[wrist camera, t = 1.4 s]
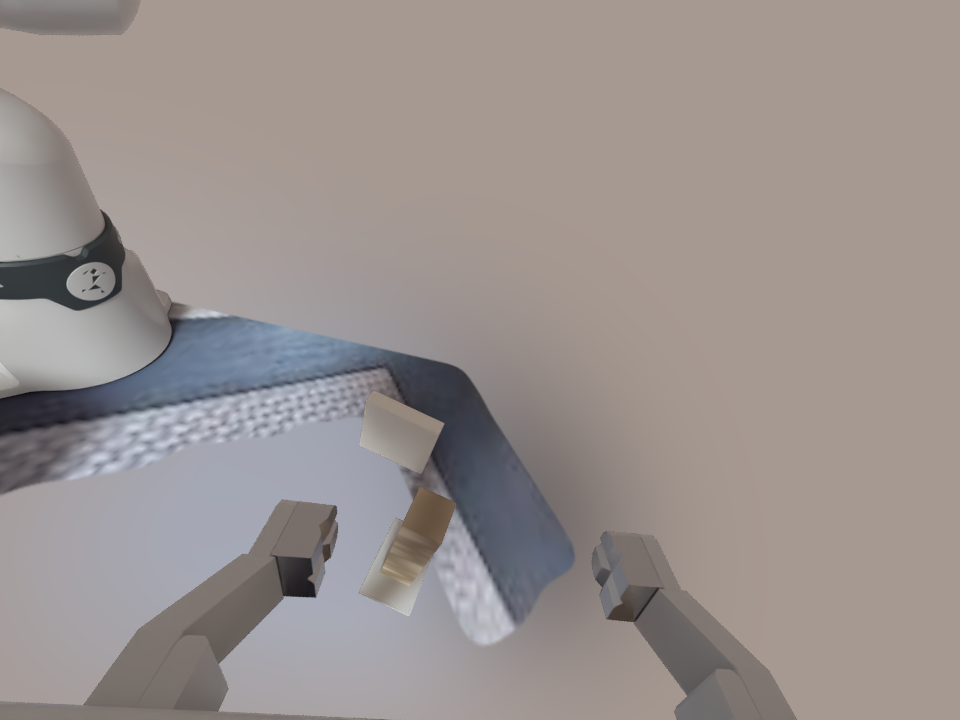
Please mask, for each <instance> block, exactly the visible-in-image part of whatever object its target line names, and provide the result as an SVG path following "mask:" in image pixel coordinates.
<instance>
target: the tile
mask: <svg viewBox="0 0 960 720" xmlns="http://www.w3.org/2000/svg"><path fill="white" fill-rule="evenodd" d="M444 424H445V423H443V422H440V421H438V420H436V419H434V418H432V417H430V416H428V415H425V414H423V413H421V412H419V411H417V410H415V409H413V408H411V407H408V406H406V405H404V404H402V403H400V402H398V401H396V400H393V399H391V398H389V397H387V396H385V395H383V394H381V393H378V392H376V391H374V390H373V392H372V393H371V395H370V396H369V397H368V399H367V400H366V404H365V410H364V417H363V424H362V430H361V437H360V444H359V446H361V447H364V448H366V449H368V450H370V451H372V452H374V453H376V454H378V455H380V456H383V457H385V458H387V459H389V460H391V461H393V462H395V463H398V464H400V465H402V466H404V467H406V468H408V469H411V470H413V471H415V472H417V473H419V474H421V475H422V473H423V470H424V468H425V466H426V464H427V462H428V460H429V457H430V455H431V453H432V451H433V448H434V446H435V444H436V442H437V439H438V437H439V435H440V433H441V430H442V428H443V426H444Z"/></svg>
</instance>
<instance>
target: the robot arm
mask: <svg viewBox="0 0 960 720" xmlns="http://www.w3.org/2000/svg"><path fill="white" fill-rule="evenodd" d="M139 4H140V0H0V28H5V29H11V30H16V31H22V32H28V33H33V34H39V35H121V34H123V33H124V32H125V31H126V30H127V29H128V28H129V26H130V25H131V23H132V22H133V20H134V18H135V16H136V14H137V11H138V7H139ZM170 306H171V299H170V297H169V296H168V294H167V293H165V292H163V291H159V290H156V289H155V287H154V285H153V283H152V282H151V280H150V278H149V276H148V274H147V272H146V270H145V269H144V267H143V265H142V263H141V261H140V259H139V258H138V256H137V255H136V254H135V253H134V252H133V251H131V250H127V249H126V248H124V247H123V245H122V242H121V237H120V235H119V233H118V231H117V229H116V228H115V227H114V226H113V224H112V222H111V220H110V218H109V217H108V216H107V214H106V213H104V212H103V211H102V210H101V209H99V206H98V204H97V202H96V199H95V197H94V195H93V193H92V191H91V188H90V186H89V184H88V182H87V179H86V178H85V175H84V173H83V171H82V168H81V166H80V164H79V162H78V159H77V157H76V155H75V153H74V151H73V148H72V146H71V144H70V142H69V140H68V139H67V138H66V136H65V135H64V133H63V132H62V131H61V130H60V129H59V128H58V127H57V126H56V125H55V124H54V123H53V122H52V121H51V120H50V119H49V118H47V117H46V116H45V115H44V114H43V113H41V112H40V111H38V110H37V109H36V108H34V107H33V106H31V105H30V104H28V103H26V102H25V101H23V100H21V99H20V98H18V97H16V96H15V95H13V94H11V93H9V92H7V91H5V90H3V89H1V88H0V398H5V397H9V396H14V395H18V394H22V393H27V392H32V391H52V390H72V389H80V388H86V387H92V386H96V385H101V384H104V383H108V382H111V381H114V380H117V379H120V378H122V377H125V376H127V375H130V374H132V373H134V372H136V371H138V370H140V369H141V368H143V367H145V366H146V365H148V364H149V363H151V362H152V361H153V360H155V359H156V358H157V357H158V356H159V355H160V354H161V353H162V352H163V351H164V349H165V348H166V347H167V345H168V343H169V341H170V338H171V332H172V330H171V325H170V322H169V319H168V315H167V313H168V311H169V309H170ZM336 515H337V507H336V506H335V505H325V504H317V503H309V502H308V503H307V502H301V501H291V500H281V501H280V502H279V503H278V504H277V506H276V507H275V509H274V511H273V512H272V514H271V516H270V517H269V519H268V521H267V523H266V525H265V526H264V528H263V529H262V531H261V533H260V535H259V536H258V538H257V540H256V542H255V543H254V545H253V547H252V548H251V550H250V552H249V554H242V555H240V556H239V557H237V558H236V559H235V560H233V561H232V562H231V563H229V564H228V565H226V566H225V567H224V568H222V569H221V570H220V571H218V572H217V573H215V574H214V575H213V576H211V577H210V578H208V579H207V580H206V581H204V582H203V583H202V584H200V585H199V586H198V587H196V588H195V589H193V590H192V591H191V592H189V593H188V594H186V595H185V596H184V597H182V598H181V599H180V600H178V601H177V602H175V603H174V604H173V605H171V606H170V607H168V608H167V609H166V610H164V611H163V612H162V613H160V614H159V615H157V616H156V617H155V618H153V619H152V620H150V621H149V622H148V623H146V624H145V625H144V626H142V627H141V628H139V629H138V630H137V632H136V633H135V635H134V636H133V637H132V639H131V640H130V641H129V643H128V644H127V646H126V647H125V649H124V650H123V651H122V652H121V654H120V655H119V657H118V658H117V659H116V661H115V662H114V663H113V665H112V666H111V668H110V669H109V670H108V672H107V673H106V675H105V676H104V677H103V679H102V680H101V681H100V683H99V684H98V686H97V687H96V688H95V690H94V691H93V692H92V694H91V695H90V697H89V698H88V699H87V701H86V702H85V704H84V705H68V704H67V705H66V704H47V703H24V702H23V703H22V702H1V701H0V720H385V719H365V718H344V717H323V716H300V715H279V714H259V713H238V712H237V713H236V712H218V711H219V708H220V706H221V704H222V702H223V700H224V697H225V695H226V693H227V691H228V686H227V682H226V680H225V677H224V675H223V673H222V671H221V668H220V666H219V663H220V662H221V661H222V660H223V659H224V658H225V657H226V656H227V655H228V654H229V653H230V652H231V651H232V650H233V649H234V648H235V647H236V646H237V645H238V644H239V643H240V642H241V641H242V640H243V639H244V638H245V637H246V636H247V635H248V634H249V633H250V632H251V631H252V630H253V629H254V628H255V627H256V626H257V625H258V624H259V623H260V622H261V621H262V620H263V619H264V618H265V617H266V616H267V615H268V614H269V613H270V612H271V611H272V610H273V609H274V608H275V607H276V606H277V605H278V603H279V602H281V600H283V598H284V597H283V596H290V597H291V596H292V597H314V598H316V596H317V594H318V591H319V588H320V585H321V583H322V580H323V577H324V575H325V565H324V563H325V562H326V561H327V560H328V559H329V558H331V556H332V553H333V550H334V547H335V543H336V539H337V533H338V523H337V522H336V521H335V517H336ZM600 539H601V542H602V543H601V544H600V545H598V546H596V547H595V549H594V551H593V554H592V569H593V574H594V577H595V580H596V581H597V582H598V583H599V584H600V586H601V587H602V589H601V592H600V599H601V602H602V606H603V609H604V612H605V616H606V619H609V620H618V621H627V622H635V623H634V625H635V626H636V627H637V629H638V630H639V631H640V633H641V634H642V635H643V637H644V638H645V640H646V641H647V642H648V643H649V645H650V646H651V648H652V649H653V650H654V652H655V653H656V654H657V656H658V657H659V658H660V660H661V661H662V662H663V664H664V665H665V667H666V668H667V669H668V671H669V672H670V673H671V675H672V676H673V677H674V679H675V680H676V681H677V683H678V684H679V685H680V687H681V688H682V689H683V691H684V692H685V693H686V695H687V697H686V698H685V699H684V700H683V701H682V702H681V703H680V704H678V705H677V707H676V709H675V711H674V713H675V715H676V718H677V720H797V719H796V717H795V715H794V713H793V712H792V710H791V708H790V706H789V704H788V703H787V701H786V699H785V697H784V696H783V694H782V692H781V691H780V689H779V687H778V685H777V684H776V682H775V680H774V678H773V677H772V675H771V673H770V671H769V670H768V669H767V668H766V667H765V666H764V665H763V664H761V663H760V661H758V660H757V659H756V658H755V657H754V656H753V655H752V654H751V653H750V652H749V651H748V650H747V649H746V648H745V647H744V646H743V645H742V644H741V643H740V642H739V641H738V640H737V639H735V638H734V636H732V635H731V634H730V633H729V632H728V631H727V630H726V629H725V628H724V627H723V626H722V625H721V624H720V623H719V622H718V621H717V620H716V619H715V618H714V617H713V616H712V615H711V614H710V613H709V612H708V611H707V610H705V609H704V608H703V607H702V606H701V605H700V604H699V603H698V602H697V601H696V600H695V599H694V598H693V597H692V596H691V595H690V594H689V593H688V592H687V591H683V590H681V589H680V586H679V584H678V582H677V580H676V578H675V576H674V574H673V572H672V570H671V568H670V566H669V564H668V562H667V559H666V557H665V555H664V553H663V551H662V549H661V547H660V545H659V543H658V541H657V539H656V538H655V537H654V536H652V535H642V534H635V533H625V532H612V531H605V532H603V534H602V535H601V537H600Z"/></svg>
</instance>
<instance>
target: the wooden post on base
mask: <svg viewBox="0 0 960 720" xmlns="http://www.w3.org/2000/svg"><path fill="white" fill-rule="evenodd" d="M456 504H457V503H455V502H453V501H451V500H449V499H446V498H444V497H442V496H440V495H438V494H436V493H434V492H431V491H429V490H427V489H425V488H423V487H421V486H420V487H419V489H418V492H417V494H416V496H415V498H414V500H413V502H412V504H411V507H410V509H409V511H408V513H407V515H406V517H405V519H404V521H402V520H400V519H397V518H395V519H394V521H393V523H392V526H391V527H390V530H389V532H388V534H387V536H386V538H385V540H384V542H383V544H382V546H381V548H380V550H379V552H378V554H377V556H376V558H375V560H374V562H373V564H372V566H371V568H370V570H369V572H368V574H367V576H366V578H365V580H364V582H363V584H362V587H361V588H360V590H359V593H360V594H362V595H364V596H367V597H369V598H370V599H373V600H375V601H377V602H379V603H381V604H383V605H385V606H388V607H390V608H392V609H394V610H396V611H398V612H400V613H402V614H405V615H407V616H410V613H411V611H412V608H413V605H414V603H415V600H416V598H417V595H418V592H419V590H420V587H421V584H422V582H423V579H424V576H425V574H426V571H427V569H428V566H429V563H430V561H431V558H432V556H433V554H434V553H435V552H436V550H437V549H438V548H439V546H440V545H441V544H442V541H443V539H444V536H445V533H446V530H447V528H448V525H449V522H450V520H451V517H452V514H453V512H454V509H455V506H456Z"/></svg>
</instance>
